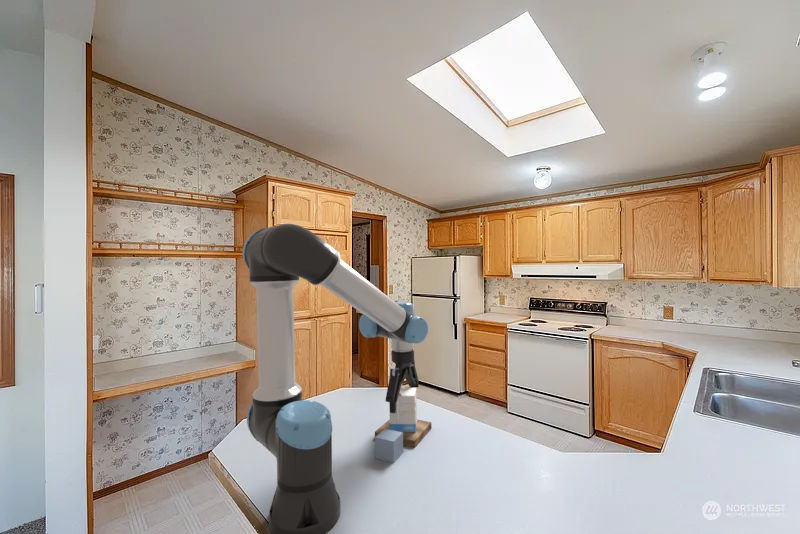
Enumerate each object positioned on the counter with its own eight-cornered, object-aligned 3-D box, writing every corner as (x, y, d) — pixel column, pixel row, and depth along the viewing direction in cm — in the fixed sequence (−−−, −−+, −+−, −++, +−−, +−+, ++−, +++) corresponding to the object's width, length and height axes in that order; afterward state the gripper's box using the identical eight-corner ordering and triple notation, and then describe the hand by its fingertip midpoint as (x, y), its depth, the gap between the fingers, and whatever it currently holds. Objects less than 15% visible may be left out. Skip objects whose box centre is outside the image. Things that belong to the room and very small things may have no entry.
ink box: (415, 433, 111) (415, 390, 111) (389, 432, 112) (388, 390, 112) (417, 421, 119) (416, 381, 120) (392, 420, 120) (392, 381, 120)
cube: (393, 463, 98) (393, 441, 98) (375, 458, 101) (375, 437, 101) (403, 452, 103) (402, 432, 103) (385, 448, 106) (385, 428, 106)
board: (414, 447, 106) (414, 440, 106) (374, 438, 112) (374, 431, 112) (431, 428, 119) (431, 422, 119) (394, 420, 125) (394, 415, 125)
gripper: (395, 359, 103) (396, 432, 103) (427, 342, 125) (428, 402, 125) (373, 357, 106) (374, 427, 106) (408, 341, 128) (409, 399, 128)
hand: (403, 414), depth 115 cm, fingers open, 13 cm apart
